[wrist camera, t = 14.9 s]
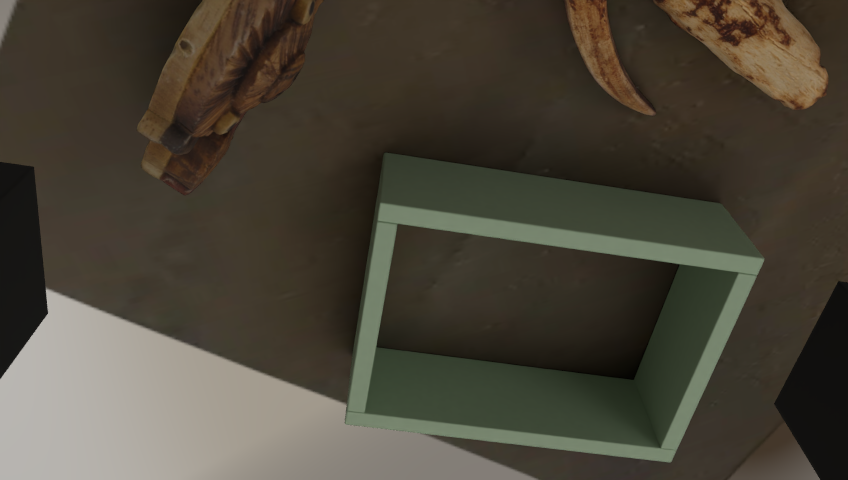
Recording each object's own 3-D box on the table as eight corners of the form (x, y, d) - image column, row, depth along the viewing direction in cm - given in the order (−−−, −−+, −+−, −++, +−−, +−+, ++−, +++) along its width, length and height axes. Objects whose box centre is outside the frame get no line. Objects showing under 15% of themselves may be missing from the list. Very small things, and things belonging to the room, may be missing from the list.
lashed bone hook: (447, -53, 35) (700, 171, 41) (447, -33, 31) (728, 212, 37) (591, -233, 32) (848, 39, 37) (612, -238, 28) (897, 69, 33)
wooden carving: (243, 173, 41) (196, 272, 32) (162, 133, 39) (91, 224, 31) (393, -116, 34) (386, -91, 25) (301, -175, 32) (260, -171, 24)
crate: (383, 151, 40) (379, 202, 35) (721, 203, 42) (765, 259, 37) (352, 356, 47) (344, 424, 42) (643, 393, 49) (671, 462, 43)
